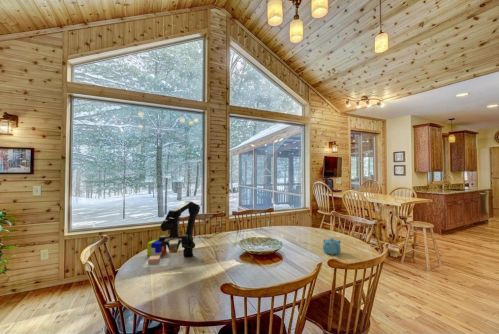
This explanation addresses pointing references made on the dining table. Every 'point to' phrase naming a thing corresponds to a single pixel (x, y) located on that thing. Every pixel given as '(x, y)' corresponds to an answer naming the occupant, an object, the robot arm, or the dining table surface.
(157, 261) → the terracotta base
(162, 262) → the grey flat slab
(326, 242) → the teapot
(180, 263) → the dining table surface
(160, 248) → the puzzle toy
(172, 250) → the walnut cube
